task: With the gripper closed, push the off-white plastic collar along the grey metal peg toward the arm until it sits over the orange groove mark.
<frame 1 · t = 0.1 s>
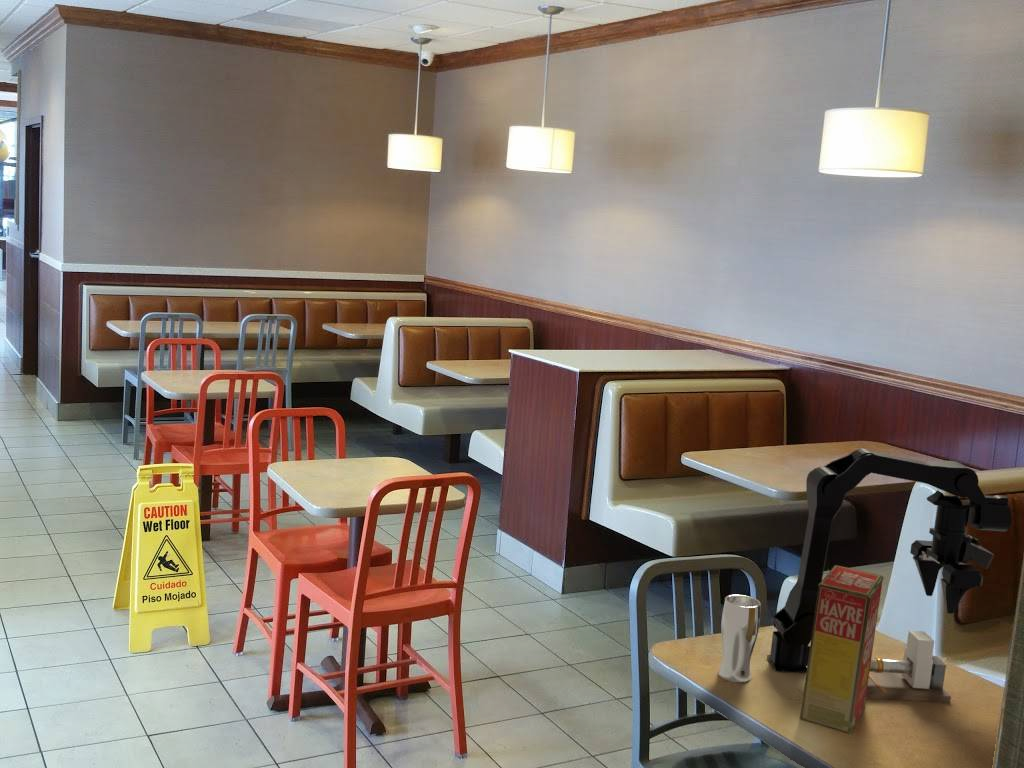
hand: (939, 604, 200), 15 cm above the table, fingers open, 9 cm apart
base board: (893, 688, 195), on the table
grey metal peg: (895, 670, 194), on the base board, point 4 cm above the table
collar: (918, 658, 194), point 6 cm above the table, slide at 4.0 cm
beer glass: (734, 676, 195), on the table
food packaging: (833, 713, 183), on the table
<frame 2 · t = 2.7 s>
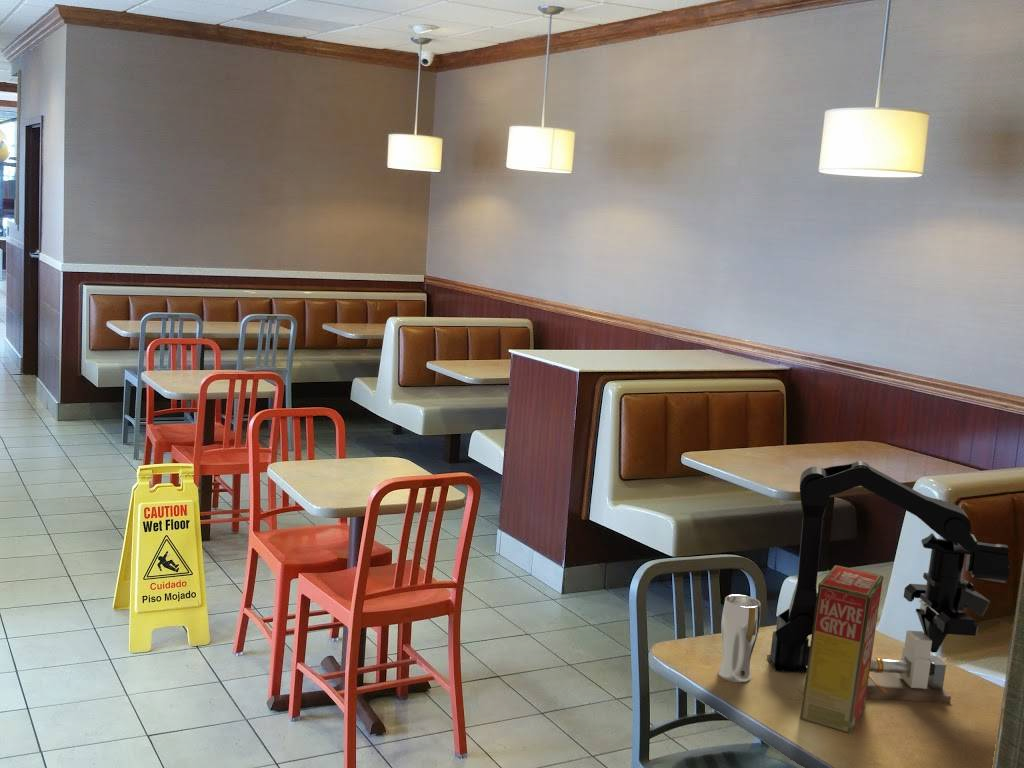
hand: (933, 651, 194), 8 cm above the table, fingers closed, pressing on collar
collar: (915, 658, 194), point 6 cm above the table, slide at 3.6 cm, touching gripper
everything else where it was.
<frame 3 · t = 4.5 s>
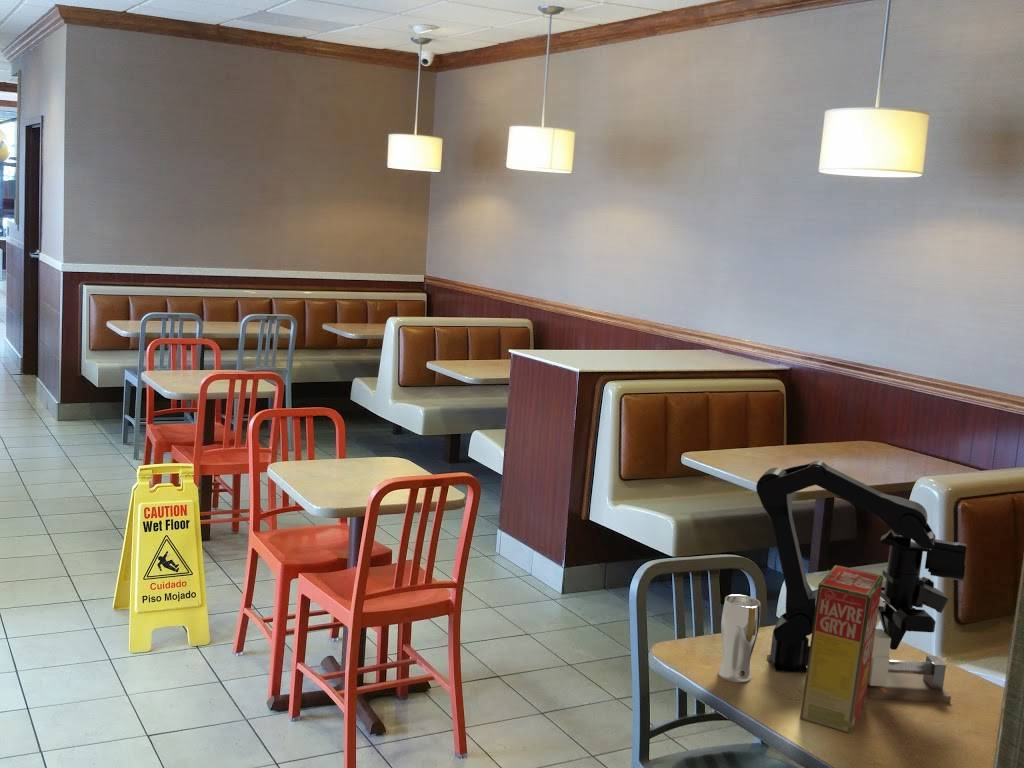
hand: (892, 648, 193), 8 cm above the table, fingers closed, pressing on collar
collar: (875, 656, 194), point 6 cm above the table, slide at -4.2 cm, touching gripper
everything else where it was.
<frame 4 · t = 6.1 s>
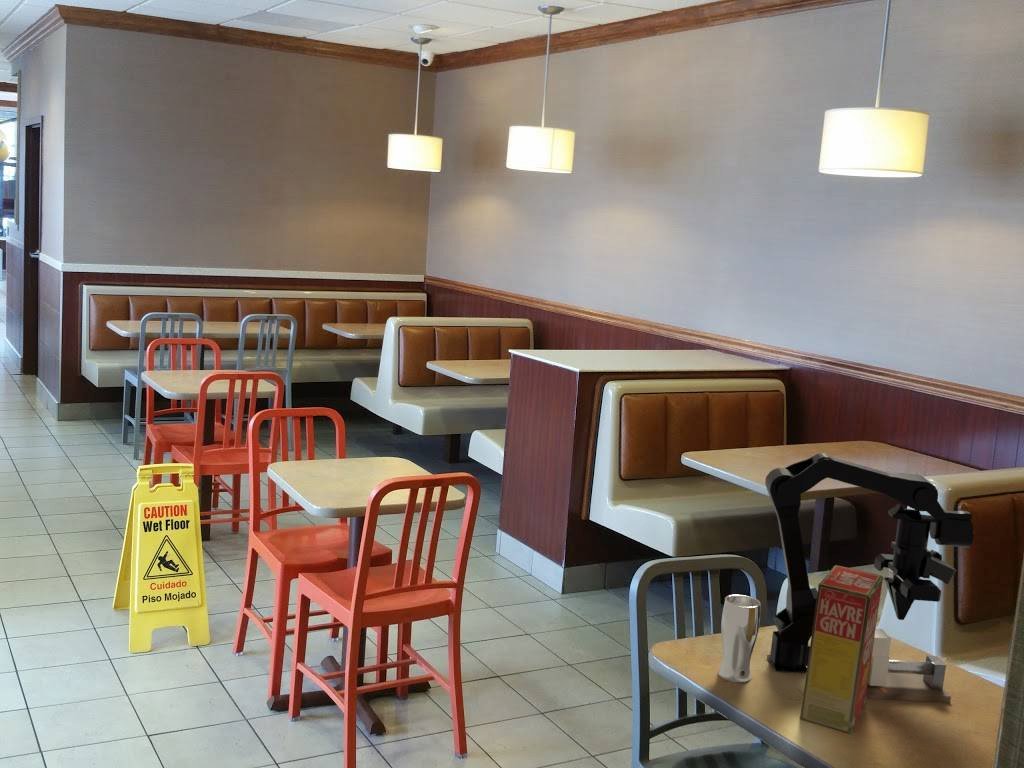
hand: (900, 619, 198), 12 cm above the table, fingers closed
collar: (875, 656, 194), point 6 cm above the table, slide at -4.2 cm
everything else where it was.
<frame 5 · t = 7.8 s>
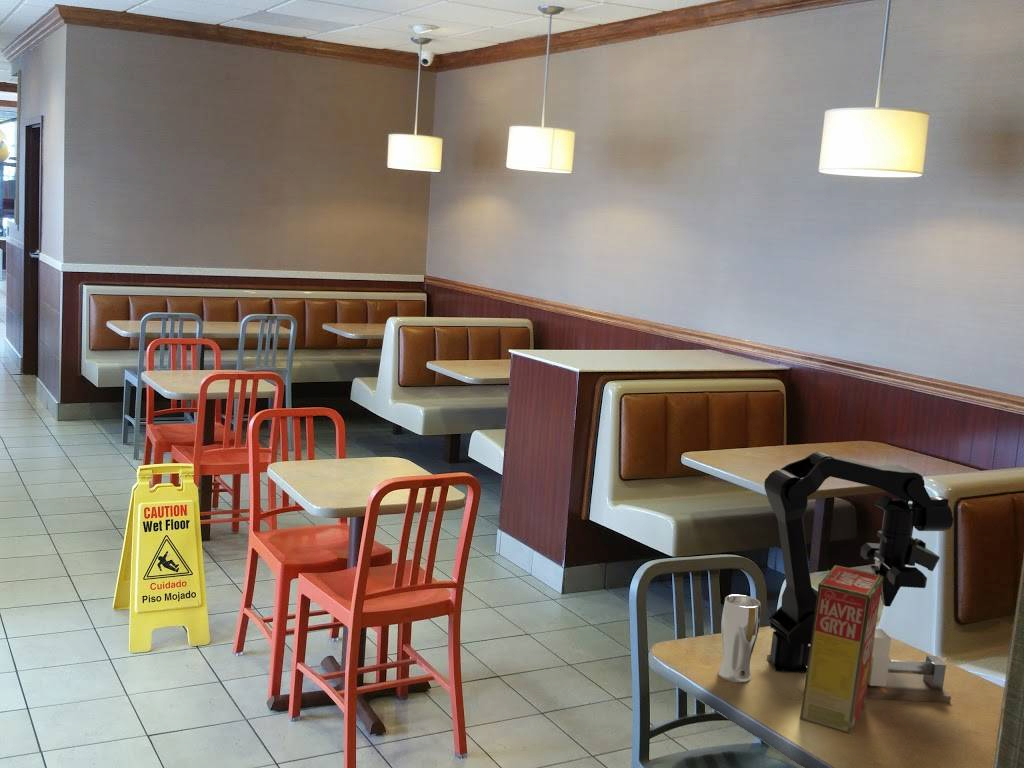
hand: (886, 605, 205), 12 cm above the table, fingers closed
nothing on the table moved.
at the end: collar slide at -4.2 cm; the gripper is holding nothing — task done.
